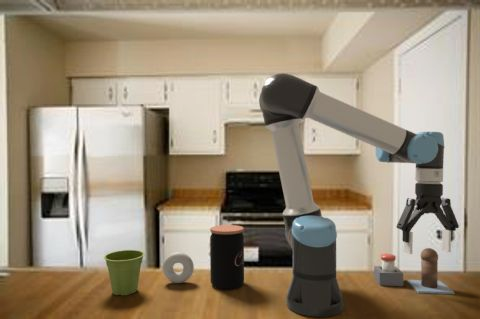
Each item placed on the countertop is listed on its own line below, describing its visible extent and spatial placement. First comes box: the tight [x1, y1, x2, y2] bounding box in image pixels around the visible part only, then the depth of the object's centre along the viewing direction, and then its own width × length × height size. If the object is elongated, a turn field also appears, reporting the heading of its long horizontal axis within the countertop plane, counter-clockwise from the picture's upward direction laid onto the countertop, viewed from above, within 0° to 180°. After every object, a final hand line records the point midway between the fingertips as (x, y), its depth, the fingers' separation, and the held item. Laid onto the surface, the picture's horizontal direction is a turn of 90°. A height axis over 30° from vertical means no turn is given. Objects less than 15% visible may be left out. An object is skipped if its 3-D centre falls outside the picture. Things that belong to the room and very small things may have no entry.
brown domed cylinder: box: [420, 247, 439, 288], centre depth 112 cm, size 5×5×11 cm
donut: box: [162, 251, 195, 284], centre depth 118 cm, size 10×4×10 cm, turn 93°
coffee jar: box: [209, 224, 245, 291], centre depth 116 cm, size 11×11×18 cm
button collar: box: [373, 265, 404, 287], centre depth 118 cm, size 7×7×4 cm
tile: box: [406, 279, 455, 295], centre depth 112 cm, size 10×10×1 cm
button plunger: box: [380, 253, 397, 272], centre depth 118 cm, size 4×4×7 cm
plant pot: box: [103, 249, 146, 296], centre depth 111 cm, size 12×12×11 cm
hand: (427, 252), depth 112 cm, fingers open, 13 cm apart
